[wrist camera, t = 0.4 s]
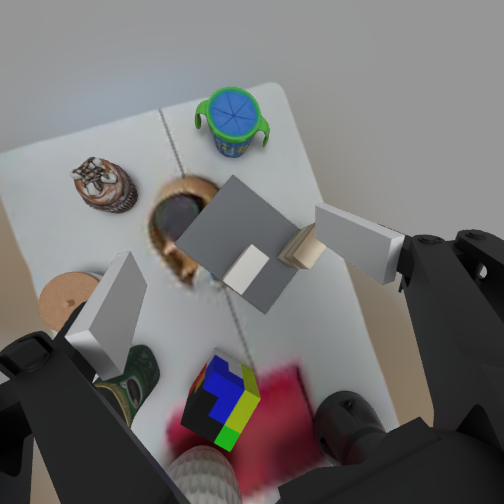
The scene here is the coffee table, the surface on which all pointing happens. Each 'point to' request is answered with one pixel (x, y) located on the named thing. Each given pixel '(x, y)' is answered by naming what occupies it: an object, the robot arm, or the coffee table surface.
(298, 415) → the coffee table surface
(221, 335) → the coffee table surface
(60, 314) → the lidded jar
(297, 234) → the oak slab
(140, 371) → the coffee jar
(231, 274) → the cream slab
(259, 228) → the mat
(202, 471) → the vase
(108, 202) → the cupcake
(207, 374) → the puzzle toy
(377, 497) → the robot arm
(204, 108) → the snack cup
